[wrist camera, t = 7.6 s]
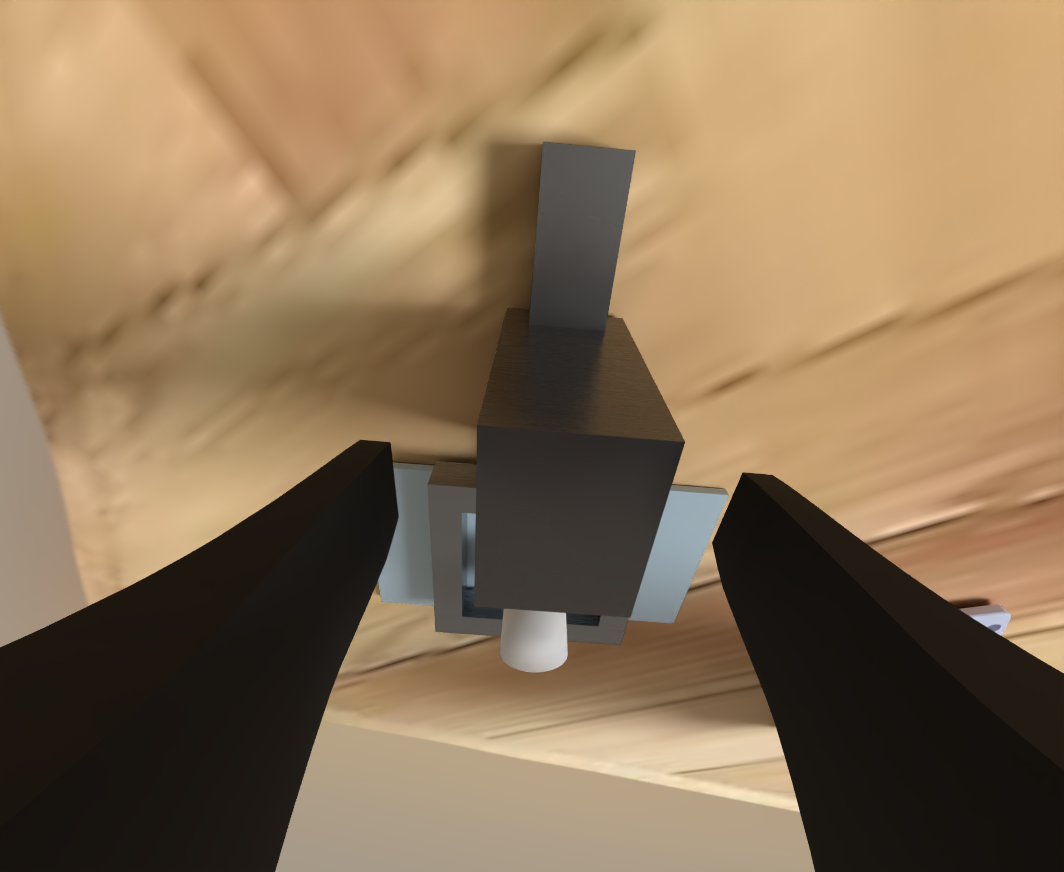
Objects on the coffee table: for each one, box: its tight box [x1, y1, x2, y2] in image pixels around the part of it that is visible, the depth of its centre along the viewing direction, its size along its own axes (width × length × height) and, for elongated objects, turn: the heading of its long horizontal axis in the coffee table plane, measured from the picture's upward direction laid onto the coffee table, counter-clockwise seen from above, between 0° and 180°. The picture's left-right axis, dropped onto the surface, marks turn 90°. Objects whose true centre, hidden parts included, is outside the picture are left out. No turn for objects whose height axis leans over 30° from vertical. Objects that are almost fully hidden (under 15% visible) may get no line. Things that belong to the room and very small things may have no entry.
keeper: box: [378, 462, 729, 672], centre depth 15 cm, size 7×12×4 cm, turn 85°
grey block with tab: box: [428, 142, 685, 645], centre depth 11 cm, size 16×7×6 cm, turn 175°
